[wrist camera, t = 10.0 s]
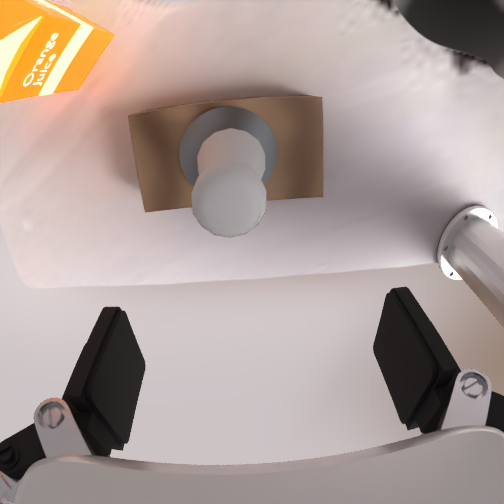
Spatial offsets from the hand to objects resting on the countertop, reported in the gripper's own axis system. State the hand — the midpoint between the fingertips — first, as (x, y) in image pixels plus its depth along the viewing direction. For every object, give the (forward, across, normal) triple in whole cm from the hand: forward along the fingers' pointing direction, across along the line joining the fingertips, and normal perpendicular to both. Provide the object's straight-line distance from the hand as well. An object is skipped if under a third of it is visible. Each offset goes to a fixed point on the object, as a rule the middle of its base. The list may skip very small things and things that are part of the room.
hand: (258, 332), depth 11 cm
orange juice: (+26, +19, -16) cm, 36 cm away
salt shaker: (+21, +1, -2) cm, 21 cm away
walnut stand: (+26, +2, -2) cm, 26 cm away
